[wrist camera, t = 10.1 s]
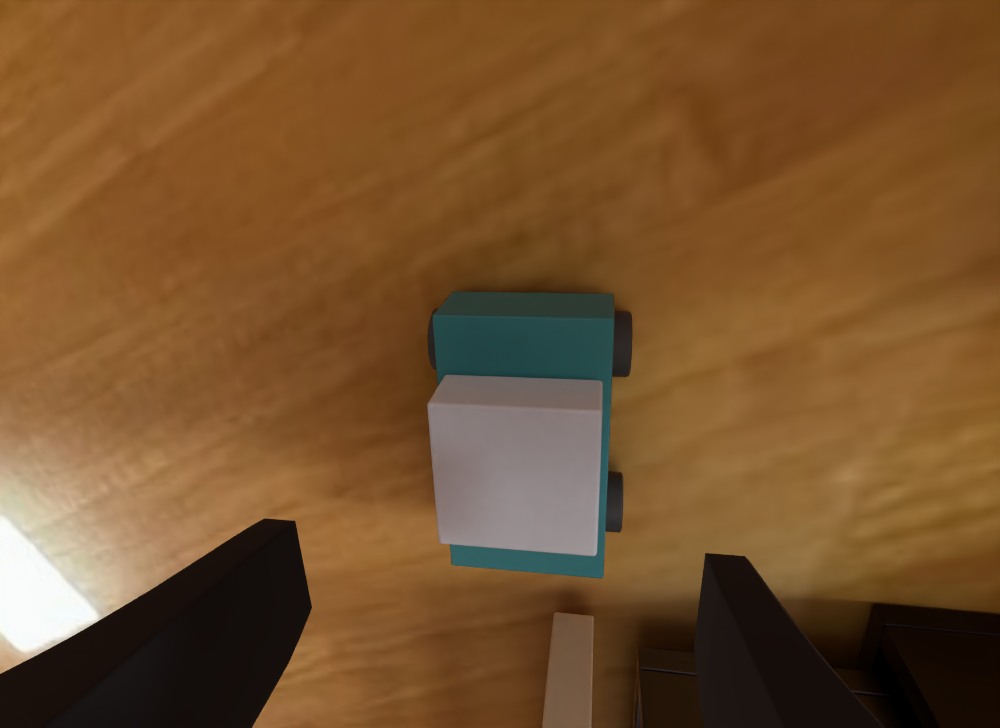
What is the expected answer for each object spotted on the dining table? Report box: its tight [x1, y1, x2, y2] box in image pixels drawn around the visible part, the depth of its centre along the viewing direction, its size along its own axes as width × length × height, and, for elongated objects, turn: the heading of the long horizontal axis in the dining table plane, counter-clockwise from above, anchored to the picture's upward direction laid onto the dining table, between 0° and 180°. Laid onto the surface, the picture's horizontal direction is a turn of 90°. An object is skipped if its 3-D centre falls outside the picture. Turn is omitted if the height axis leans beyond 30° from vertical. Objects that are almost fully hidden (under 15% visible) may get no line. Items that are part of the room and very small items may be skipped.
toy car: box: [427, 291, 632, 578], centre depth 15 cm, size 7×5×4 cm
